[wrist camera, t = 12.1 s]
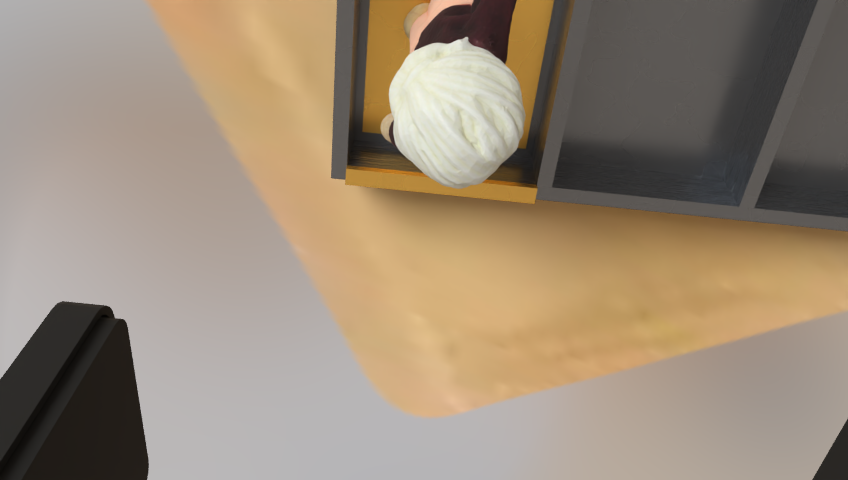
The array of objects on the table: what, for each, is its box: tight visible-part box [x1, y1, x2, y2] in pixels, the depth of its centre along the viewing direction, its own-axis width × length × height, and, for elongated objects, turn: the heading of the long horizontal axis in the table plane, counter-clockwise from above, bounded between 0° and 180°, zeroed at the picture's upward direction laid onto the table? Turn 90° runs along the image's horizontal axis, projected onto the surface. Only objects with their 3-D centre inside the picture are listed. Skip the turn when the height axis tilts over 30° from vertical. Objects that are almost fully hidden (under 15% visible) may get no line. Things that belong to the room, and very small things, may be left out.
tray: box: [331, 0, 848, 231], centre depth 27 cm, size 25×14×3 cm, turn 84°
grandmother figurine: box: [381, 0, 526, 189], centre depth 22 cm, size 8×4×13 cm, turn 161°
